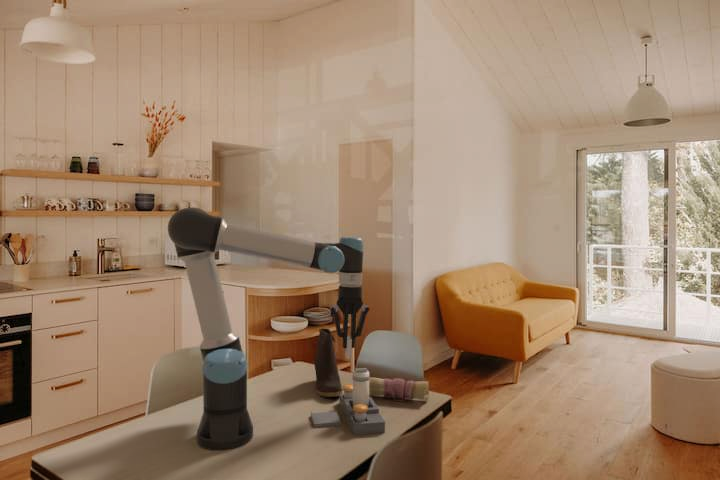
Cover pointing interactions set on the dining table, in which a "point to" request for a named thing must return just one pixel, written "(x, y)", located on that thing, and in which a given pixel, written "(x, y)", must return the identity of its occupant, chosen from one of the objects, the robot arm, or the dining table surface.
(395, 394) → the green and pink roll
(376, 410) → the housing
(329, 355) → the boot
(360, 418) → the plunger near
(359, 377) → the cylinder
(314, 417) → the mat
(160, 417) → the dining table surface
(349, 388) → the plunger far
